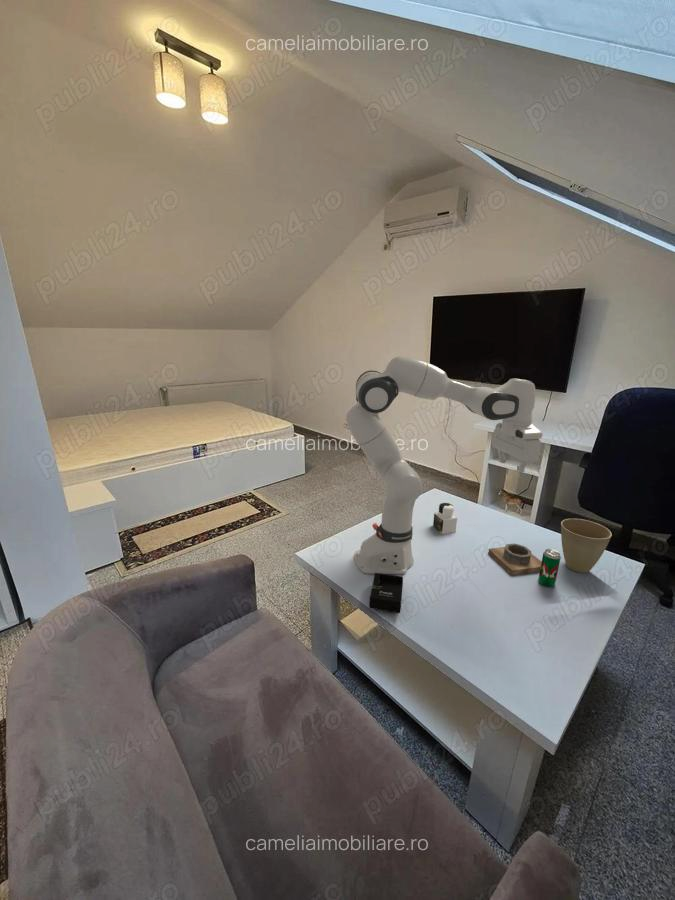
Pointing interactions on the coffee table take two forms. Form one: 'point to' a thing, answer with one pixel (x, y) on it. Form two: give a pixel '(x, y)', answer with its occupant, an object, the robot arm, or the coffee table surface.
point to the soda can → (549, 567)
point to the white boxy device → (445, 519)
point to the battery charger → (386, 592)
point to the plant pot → (583, 543)
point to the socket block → (516, 559)
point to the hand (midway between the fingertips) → (511, 466)
